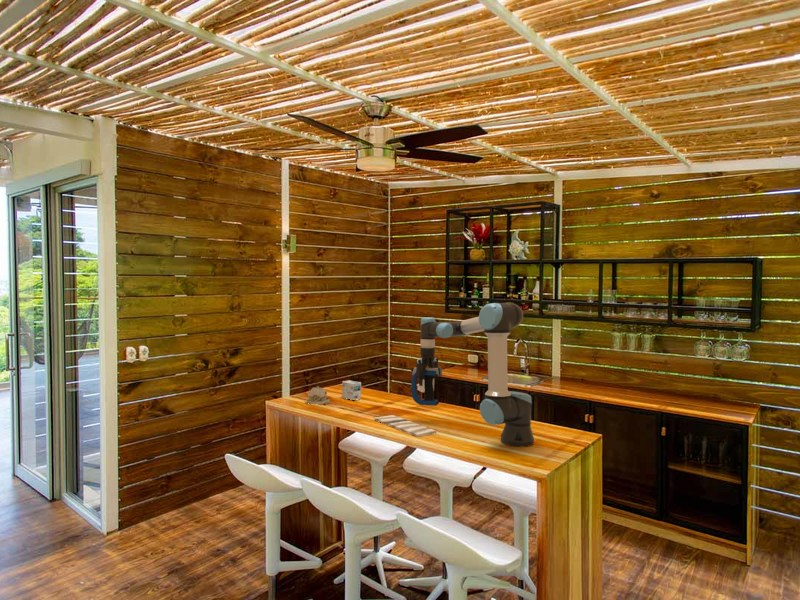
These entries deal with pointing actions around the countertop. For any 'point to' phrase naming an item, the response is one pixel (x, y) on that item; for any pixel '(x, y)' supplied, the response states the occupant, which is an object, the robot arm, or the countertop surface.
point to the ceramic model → (317, 396)
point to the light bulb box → (351, 390)
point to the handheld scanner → (427, 384)
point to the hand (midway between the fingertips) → (426, 391)
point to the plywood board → (405, 425)
